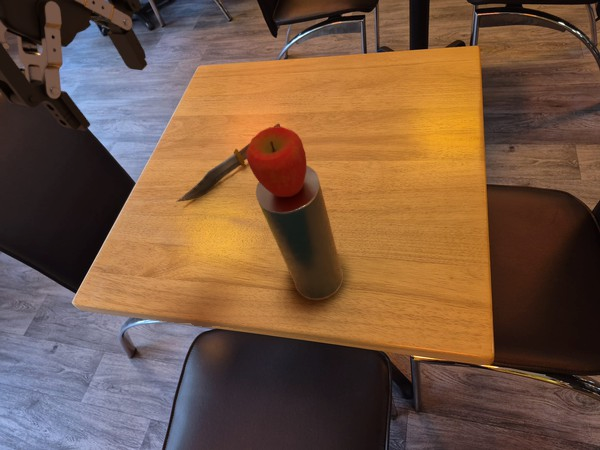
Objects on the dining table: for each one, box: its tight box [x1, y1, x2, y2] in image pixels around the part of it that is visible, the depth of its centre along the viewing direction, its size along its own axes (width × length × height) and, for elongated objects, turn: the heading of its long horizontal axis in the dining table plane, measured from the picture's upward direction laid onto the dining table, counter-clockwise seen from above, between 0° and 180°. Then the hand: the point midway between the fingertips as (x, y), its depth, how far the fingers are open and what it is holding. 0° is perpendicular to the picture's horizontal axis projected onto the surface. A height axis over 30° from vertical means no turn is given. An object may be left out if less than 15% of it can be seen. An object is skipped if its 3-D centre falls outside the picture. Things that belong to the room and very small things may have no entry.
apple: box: [246, 125, 307, 197], centre depth 48 cm, size 6×6×8 cm
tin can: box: [255, 164, 344, 301], centre depth 60 cm, size 8×8×22 cm
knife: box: [175, 123, 281, 203], centre depth 84 cm, size 25×1×5 cm, turn 126°
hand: (111, 96), depth 40 cm, fingers open, 8 cm apart
